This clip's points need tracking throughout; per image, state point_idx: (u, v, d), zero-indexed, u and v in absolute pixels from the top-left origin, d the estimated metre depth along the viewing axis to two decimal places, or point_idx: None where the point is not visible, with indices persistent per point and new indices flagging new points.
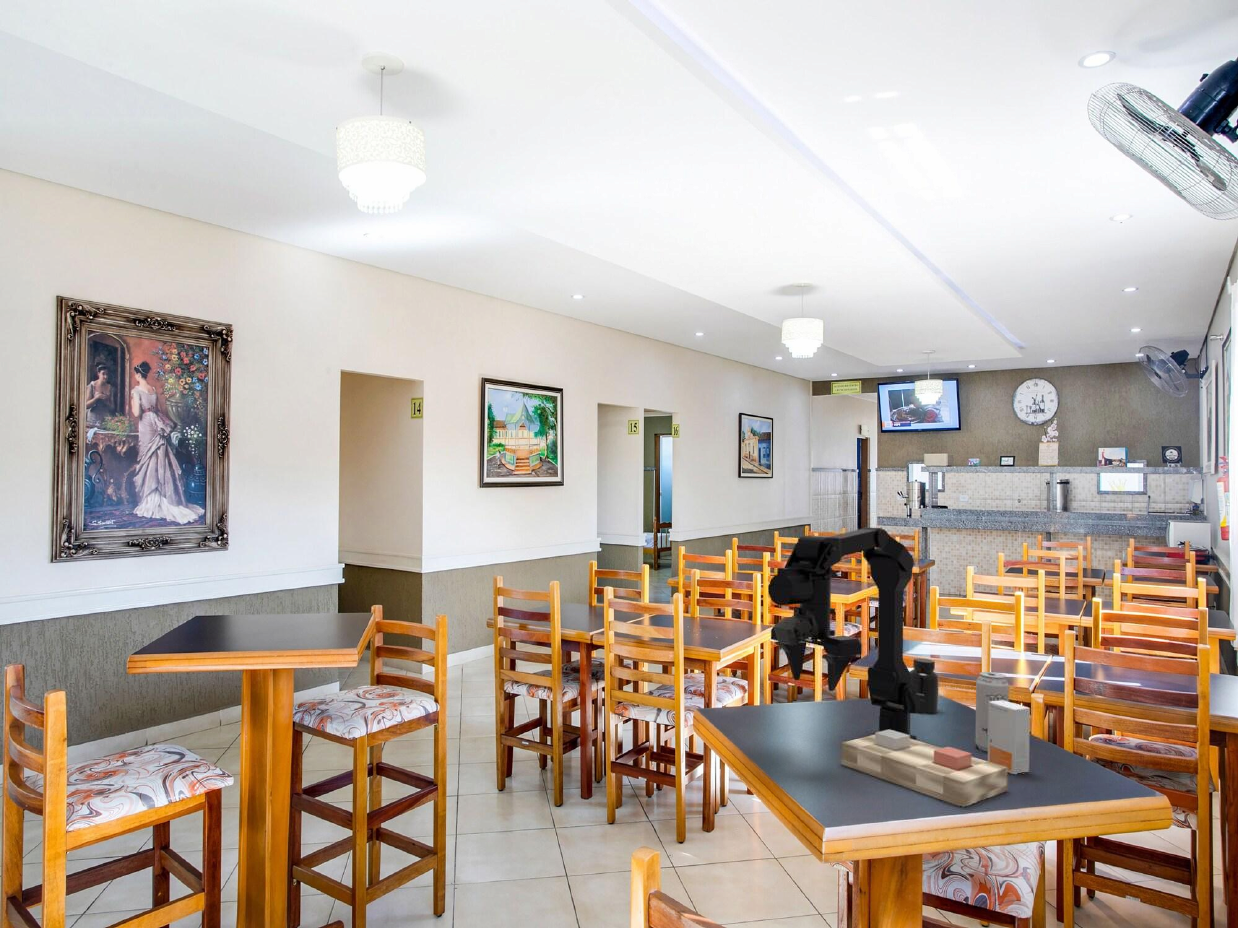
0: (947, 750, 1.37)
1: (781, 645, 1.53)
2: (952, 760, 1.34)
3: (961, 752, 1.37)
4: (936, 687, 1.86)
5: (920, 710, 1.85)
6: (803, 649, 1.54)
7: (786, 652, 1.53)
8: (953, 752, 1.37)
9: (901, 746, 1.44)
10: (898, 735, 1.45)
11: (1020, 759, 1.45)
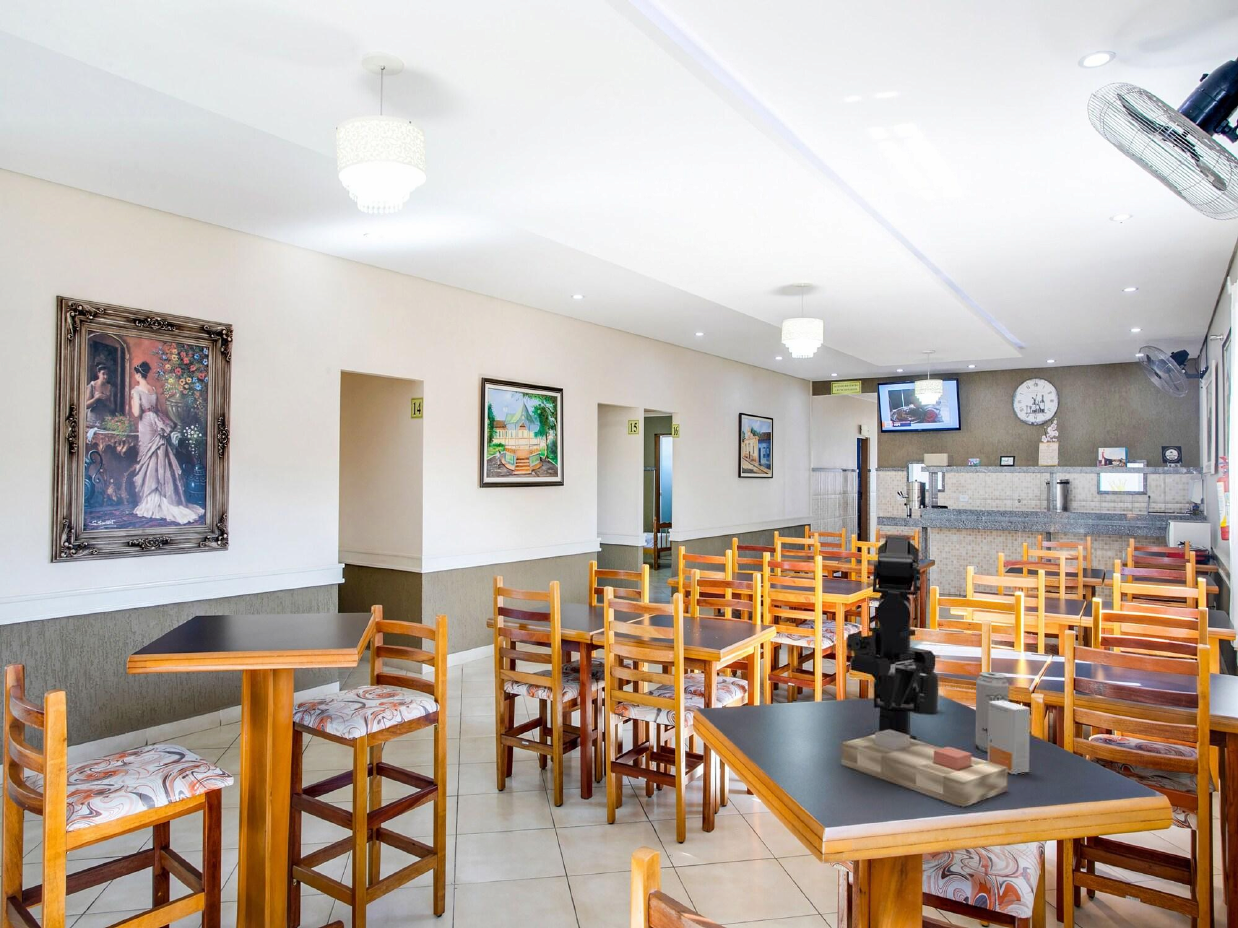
0: (947, 750, 1.37)
1: None
2: (952, 760, 1.34)
3: (961, 752, 1.37)
4: (936, 687, 1.86)
5: (920, 710, 1.85)
6: (909, 678, 1.46)
7: None
8: (953, 752, 1.37)
9: (901, 746, 1.44)
10: (898, 735, 1.45)
11: (1020, 759, 1.45)
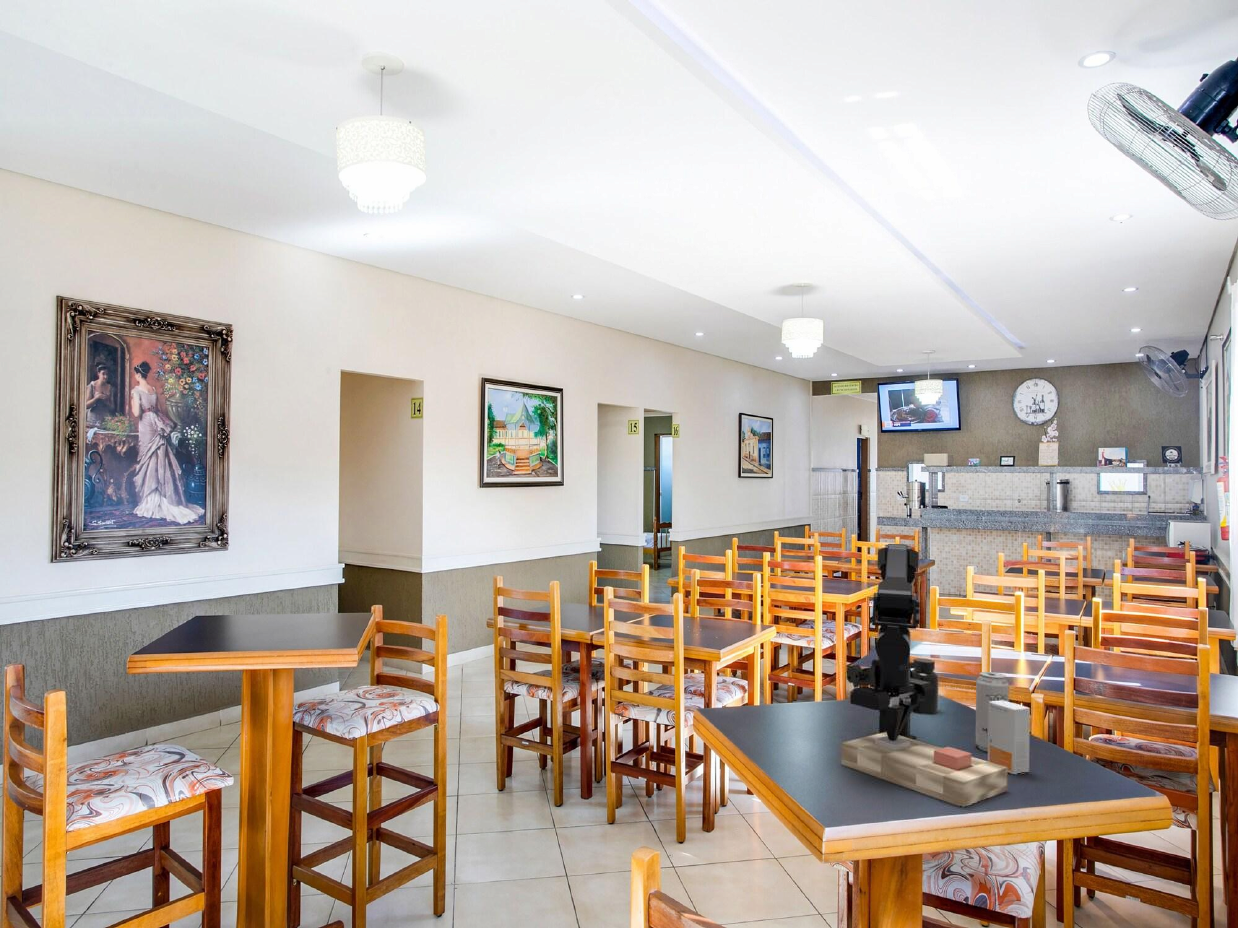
0: (947, 750, 1.37)
1: None
2: (952, 760, 1.34)
3: (961, 752, 1.37)
4: (936, 687, 1.86)
5: (920, 710, 1.85)
6: (904, 711, 1.45)
7: None
8: (953, 752, 1.37)
9: None
10: (897, 741, 1.45)
11: (1020, 759, 1.45)
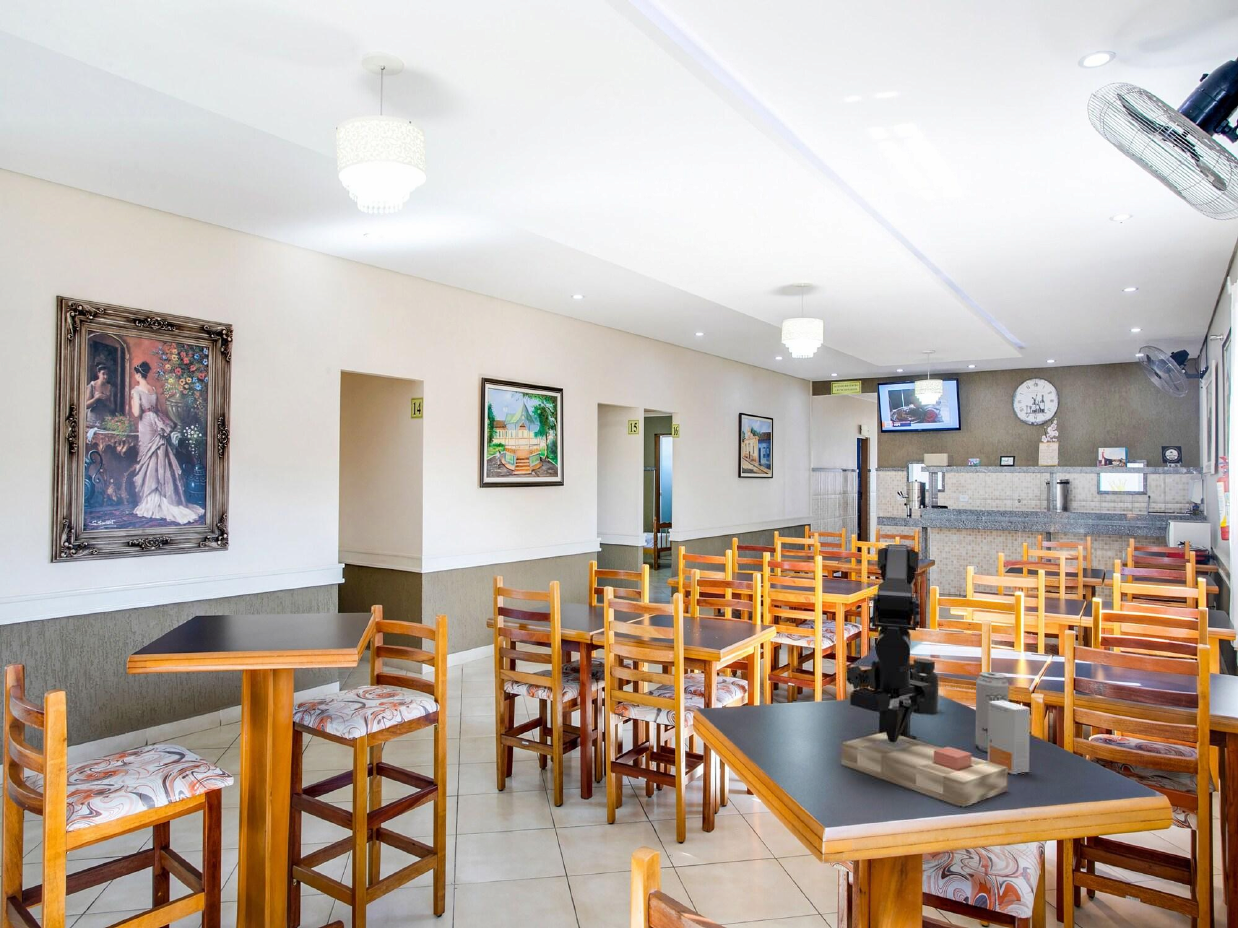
0: (947, 750, 1.37)
1: None
2: (952, 760, 1.34)
3: (961, 752, 1.37)
4: (936, 687, 1.86)
5: (920, 710, 1.85)
6: (904, 713, 1.45)
7: None
8: (953, 752, 1.37)
9: None
10: (897, 744, 1.45)
11: (1020, 759, 1.45)
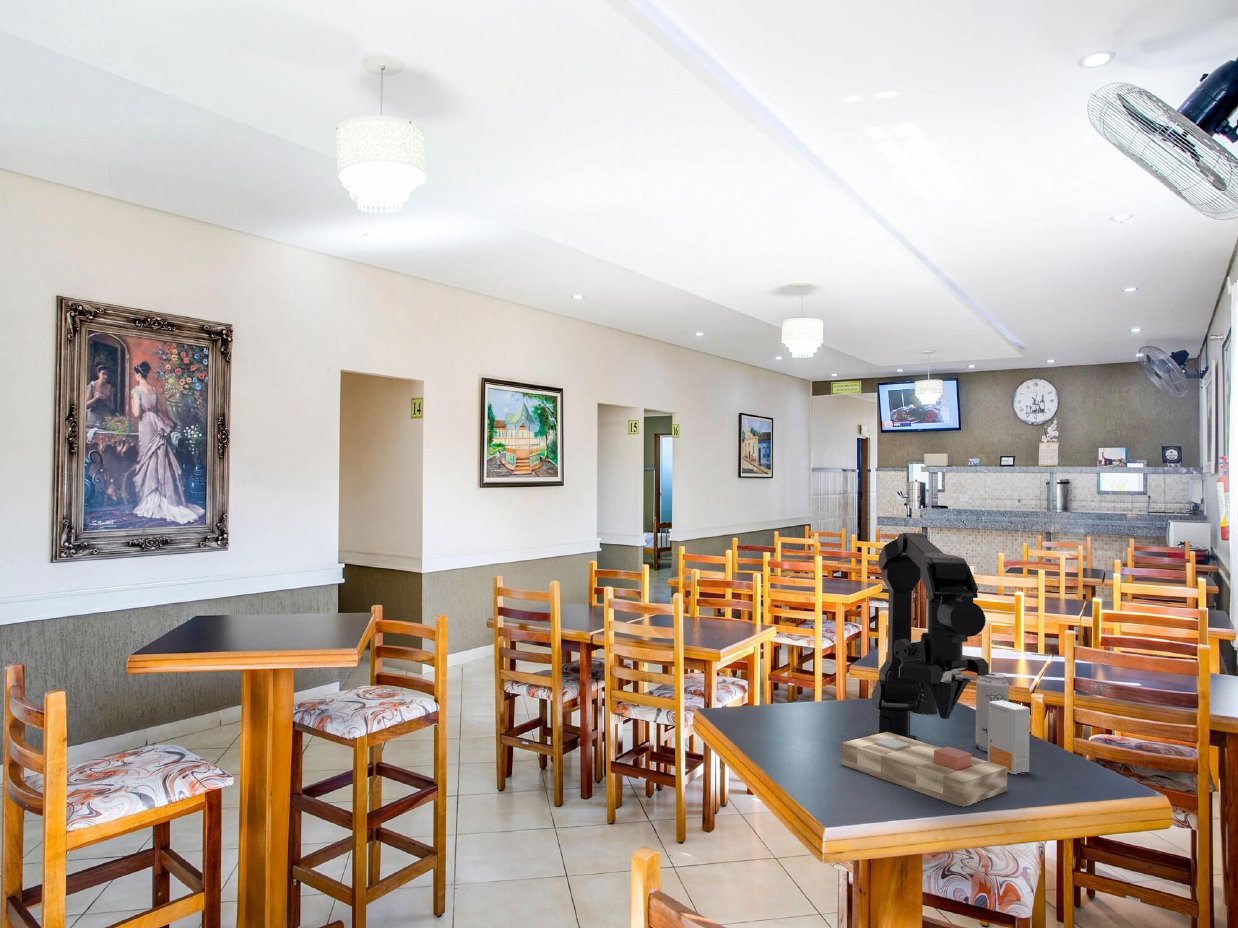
0: (947, 750, 1.37)
1: None
2: (952, 760, 1.34)
3: (961, 752, 1.37)
4: None
5: (920, 710, 1.85)
6: (957, 688, 1.37)
7: None
8: (953, 752, 1.37)
9: None
10: (897, 744, 1.45)
11: (1020, 759, 1.45)
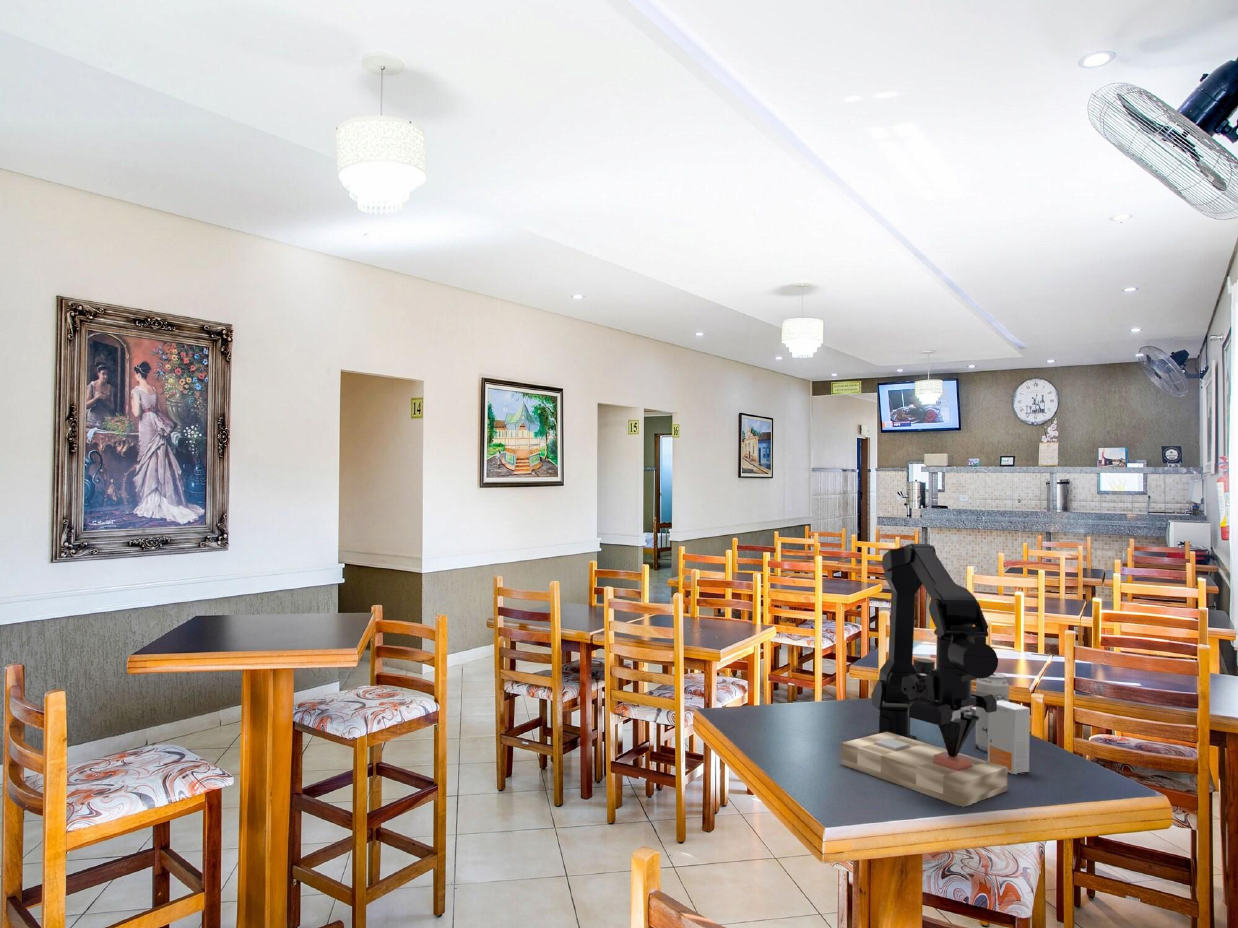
0: (947, 754, 1.37)
1: None
2: (952, 765, 1.34)
3: (961, 756, 1.37)
4: None
5: None
6: (965, 726, 1.36)
7: None
8: None
9: None
10: (897, 744, 1.45)
11: (1020, 759, 1.45)
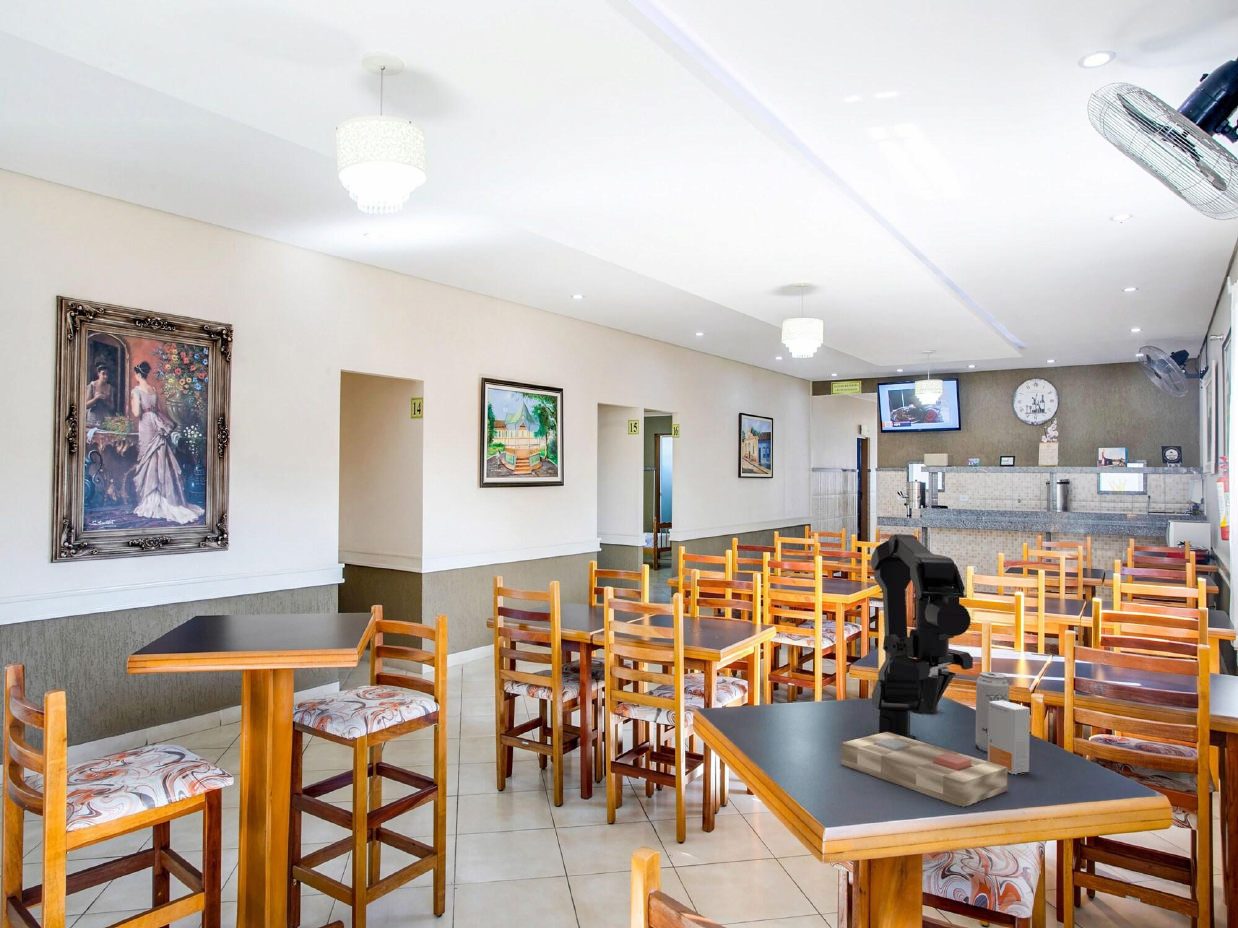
0: (947, 756, 1.37)
1: None
2: (952, 766, 1.34)
3: (961, 758, 1.36)
4: None
5: (920, 710, 1.85)
6: (943, 681, 1.43)
7: None
8: (953, 757, 1.37)
9: None
10: (897, 744, 1.45)
11: (1020, 759, 1.45)
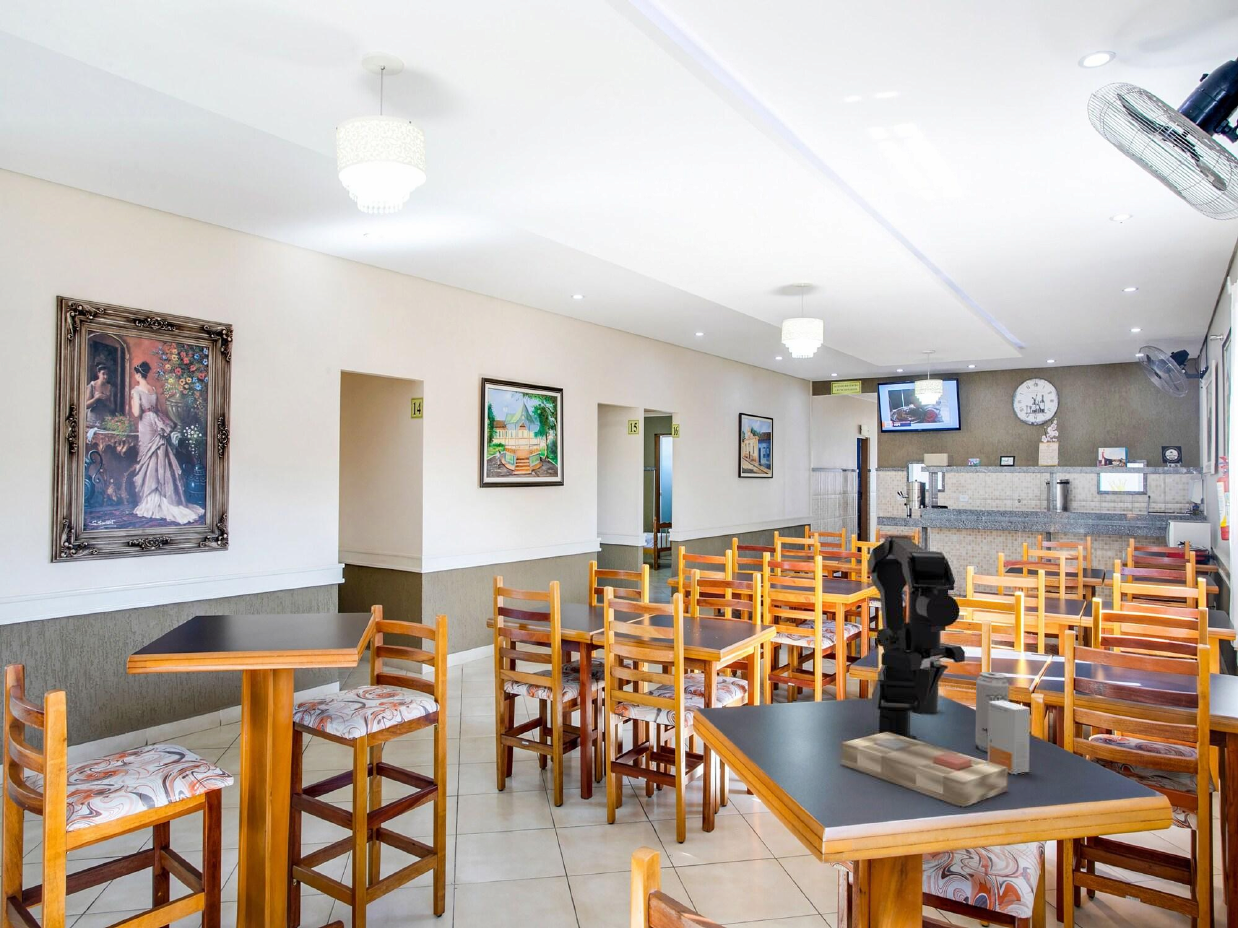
0: (947, 756, 1.37)
1: None
2: (952, 766, 1.34)
3: (961, 758, 1.36)
4: (936, 687, 1.86)
5: (920, 710, 1.85)
6: (935, 674, 1.46)
7: None
8: (953, 757, 1.37)
9: None
10: (897, 744, 1.45)
11: (1020, 759, 1.45)
